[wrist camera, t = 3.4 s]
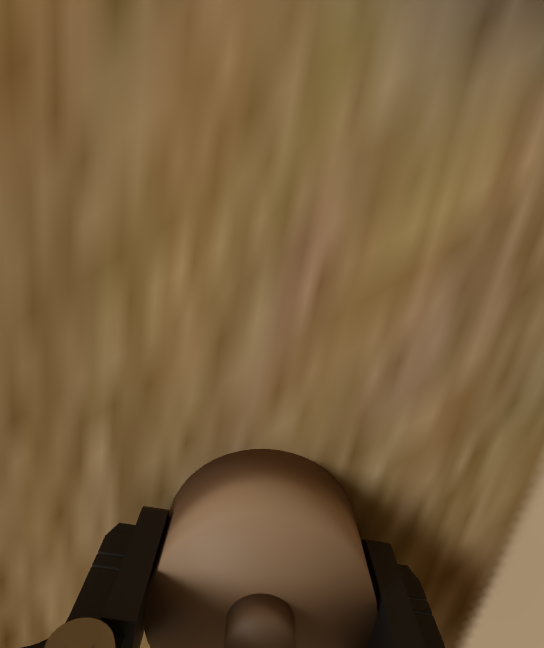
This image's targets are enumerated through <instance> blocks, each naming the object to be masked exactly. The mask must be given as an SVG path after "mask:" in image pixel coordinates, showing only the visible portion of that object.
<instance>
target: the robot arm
mask: <svg viewBox="0 0 544 648" xmlns="http://www.w3.org/2000/svg"><path fill="white" fill-rule="evenodd" d="M168 518H169V510H166V509H160V508H153V507H146V506H143V508H142V510H141V512H140V515H139V518H138V520H137V523H136V525H130V524H123V523H119V524H118V525H117V526H115V527H114V528H113V529H112V530H111V531H110V532H109V533H108V534H107V535H105V538H104V540H103V542H102V544H101V547H100V549H99V551H98V554H97V555H96V558H95V560H94V562H93V565H92V568H91V569H90V571H89V573H88V575H87V578H86V580H85V582H84V584H83V587H82V589H81V591H80V593H79V595H78V598H77V600H76V602H75V604H74V607H73V609H72V611H71V613H70V615H69V617H68V619H67V621H66V622H65V624H63V625H61V626H60V627H59V628H57V629H56V630H55V631H54V632H53V633H52V634H51V636H50V637H49V638H48V639H46V640H44V641H42V642H40V643H37V644H35V645H31V646H27V647H22V648H140V644H141V641H142V637H143V633H144V619H145V612H146V605H147V598H148V591H149V584H150V581H151V577H152V574H153V570H154V567H155V563H156V560H157V556H158V553H159V549H160V546H161V542H162V539H163V535H164V532H165V528H166V525H167V521H168ZM361 543H362V547H363V551H364V555H365V559H366V562H367V566H368V570H369V574H370V578H371V582H372V585H373V589H374V593H375V597H376V602H377V611H378V614H377V619H376V622H375V625H374V628H373V632H372V635H371V638H370V641H369V644H368V647H367V648H445V646H444V643H443V641H442V638H441V635H440V633H439V630H438V627H437V625H436V622H435V620H434V617H433V616H432V612H431V609H430V607H429V604H428V602H426V596H425V593H424V591H423V588H422V586H421V583H420V581H419V580H418V578H417V577H416V576H415V575H414V573H413V572H412V571H411V570H410V569H409V567H408V566H407V565H400V564H397V561H396V558H395V556H394V553H393V550H392V547H391V545H390V544H389V543H385V542H378V541H371V540H362V541H361Z"/></svg>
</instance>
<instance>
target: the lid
mask: <svg viewBox="0 0 544 648" xmlns="http://www.w3.org/2000/svg"><path fill="white" fill-rule="evenodd" d="M377 614H378V611H377V602H376V597H375V593H374V589H373V585H372V582H371V578H370V574H369V570H368V566H367V562H366V559H365V555H364V551H363V547H362V543H361V539H360V536H359V532H358V528H357V524H356V520H355V516H354V513H353V509H352V505H351V503H350V501H349V498H348V496H347V494H346V493H345V491H344V490H343V488H342V486H341V485H340V484H339V483H338V482H337V480H336V479H335V478H334V477H333V476H332V475H331V474H330V473H328V472H327V471H326V470H325V469H324V468H322V467H321V466H319V465H317V464H316V463H314V462H312V461H310V460H308V459H306V458H304V457H302V456H299V455H296V454H293V453H289V452H285V451H280V450H271V449H251V450H244V451H238V452H234V453H231V454H227V455H225V456H222V457H219V458H217V459H215V460H213V461H211V462H209V463H207V464H206V465H204V466H203V467H201V468H200V469H199V470H197V471H196V472H195V473H194V474H193V475H192V476H190V477H189V478H188V479H187V480H186V482H185V483H184V484H183V485H182V487H181V488H180V490H179V491H178V493H177V495H176V496H175V498H174V501H173V503H172V506H171V508H170V512H169V518H168V521H167V525H166V528H165V532H164V535H163V539H162V542H161V546H160V549H159V553H158V556H157V560H156V563H155V567H154V570H153V574H152V577H151V581H150V584H149V591H148V598H147V605H146V612H145V619H144V630H145V634H146V637H147V641H148V643H149V645H150V647H151V648H367V647H368V644H369V641H370V638H371V635H372V632H373V628H374V625H375V622H376V619H377Z"/></svg>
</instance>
